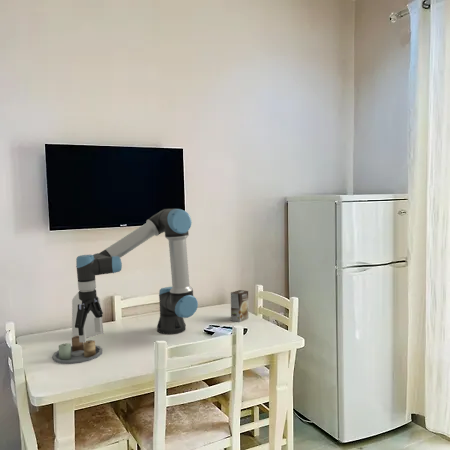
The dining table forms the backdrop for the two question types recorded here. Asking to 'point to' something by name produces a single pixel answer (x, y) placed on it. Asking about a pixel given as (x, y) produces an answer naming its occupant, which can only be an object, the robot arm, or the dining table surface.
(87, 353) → the bead
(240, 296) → the coffee box
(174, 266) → the robot arm
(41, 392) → the dining table surface
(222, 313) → the dining table surface
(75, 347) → the bead
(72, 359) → the tray
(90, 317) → the milk
